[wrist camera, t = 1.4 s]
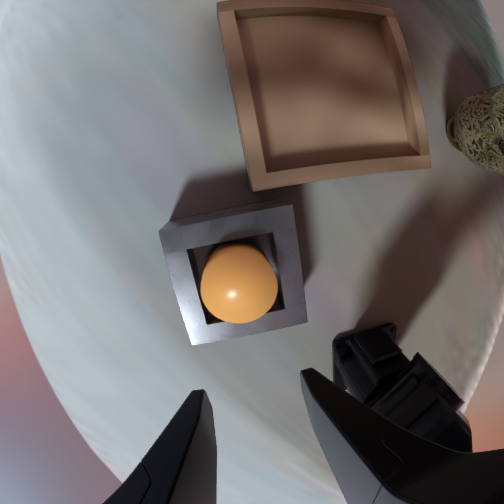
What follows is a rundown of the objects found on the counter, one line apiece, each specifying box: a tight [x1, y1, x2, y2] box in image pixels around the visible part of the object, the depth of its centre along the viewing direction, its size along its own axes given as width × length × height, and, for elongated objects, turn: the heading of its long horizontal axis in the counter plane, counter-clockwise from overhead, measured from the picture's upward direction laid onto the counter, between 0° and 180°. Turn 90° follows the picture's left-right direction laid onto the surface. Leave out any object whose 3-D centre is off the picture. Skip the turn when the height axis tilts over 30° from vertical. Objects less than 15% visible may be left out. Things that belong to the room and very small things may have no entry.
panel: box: [159, 199, 308, 345], centre depth 19 cm, size 8×8×4 cm
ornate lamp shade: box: [447, 84, 504, 175], centre depth 16 cm, size 8×7×8 cm
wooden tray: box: [217, 0, 431, 192], centre depth 17 cm, size 14×14×2 cm
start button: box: [201, 242, 278, 323], centre depth 17 cm, size 4×4×2 cm
